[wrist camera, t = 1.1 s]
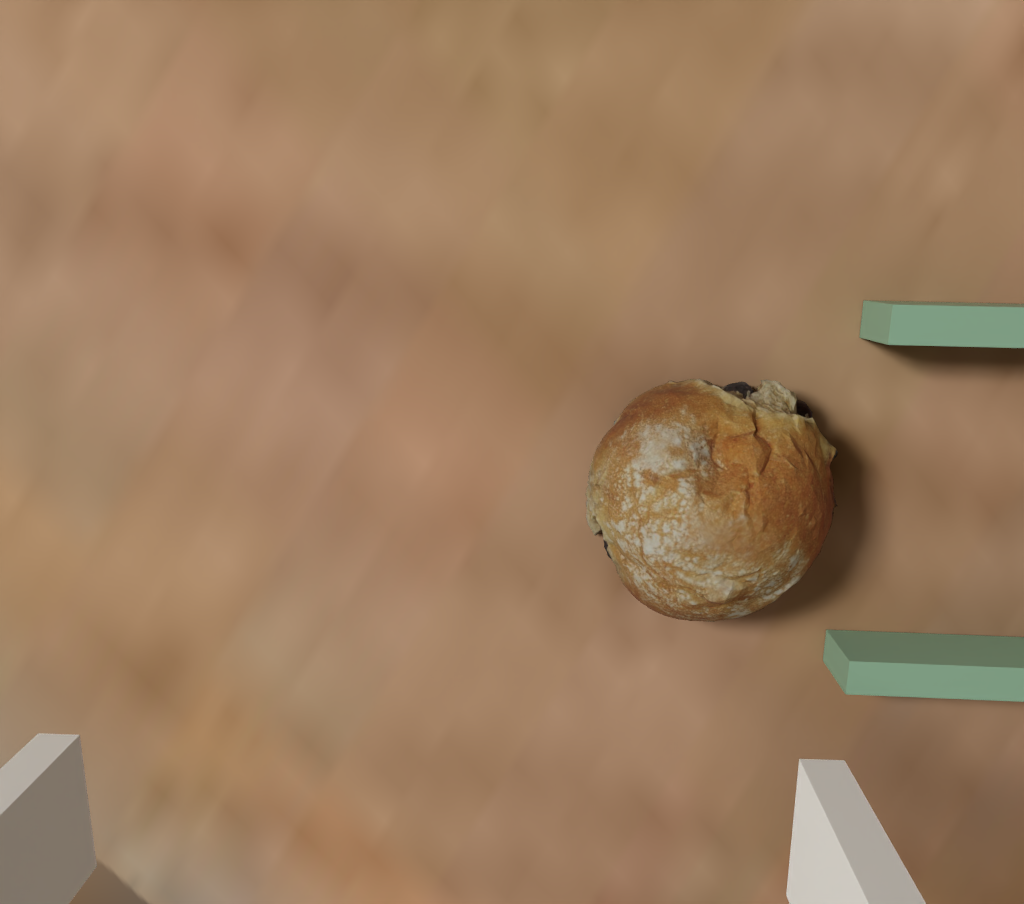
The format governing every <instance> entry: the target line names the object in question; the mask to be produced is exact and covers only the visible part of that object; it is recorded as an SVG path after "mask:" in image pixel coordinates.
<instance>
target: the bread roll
mask: <svg viewBox="0 0 1024 904" xmlns="http://www.w3.org/2000/svg"><path fill="white" fill-rule="evenodd" d="M761 382H762V384H761V385H760V386H759V387H758V388H757V389H758V391H757V392H754V391H753V389H752V388H751V387H750V386H749V385H748V384H747V383H745V382H738V383H732V384H729V385H727V386H724V387H717V386H715V385H713V384H712V383H710V382H709V381H705V380H701V379H690V380H686V381H680V382H674V381H669V382H668V383H666V384H663V385H660V386H658V387H655V388H653V389H651V390H649V391H647V392H645V393H642V394H641V395H640V396H638V397H637V398H635V399H633V400H632V401H631V402H630V403H629V405H628V406H627V407H626V408H625V409H624V411H623V412H622V413H621V415H620V416H619V418H618V419H617V420H616V421H614V426H613V427H612V428H611V429H610V430H609V431H608V433H607V434H606V435H605V436H604V438H603V439H602V441H601V442H600V444H599V446H598V447H597V450H596V452H595V455H594V457H593V461H592V463H591V466H590V471H589V480H588V487H587V491H586V496H587V502H586V507H587V515H586V518H587V522H588V525H589V527H590V528H591V530H592V532H593V533H594V535H597V534H599V533H601V532H602V533H603V540H604V547H605V549H606V551H607V554H608V556H609V557H610V558H611V559H612V561H613V563H614V564H615V565H616V570H617V573H618V575H619V577H620V578H621V580H622V582H623V584H624V586H625V587H626V588H627V589H628V590H629V592H630V593H631V594H632V595H633V596H634V597H635V598H636V599H637V600H639V601H640V602H641V603H643V604H644V605H646V606H647V607H648V608H650V609H652V610H654V611H656V612H658V613H660V614H663V615H665V616H668V617H672V618H676V619H682V620H689V621H713V622H714V621H718V620H724V619H732V618H738V617H742V616H746V615H748V614H750V613H753V612H755V611H758V610H760V609H763V608H764V607H765V606H766V605H768V604H770V603H772V602H775V601H776V600H777V599H778V598H779V597H780V596H781V595H782V594H783V593H784V592H785V591H786V590H788V589H789V588H790V587H792V586H793V585H794V584H796V583H797V582H798V581H799V580H800V579H801V578H802V577H803V575H804V574H805V572H806V571H807V570H808V569H809V568H810V567H811V565H812V563H813V561H814V559H815V558H816V557H817V555H818V554H819V553H820V552H821V548H822V544H823V542H824V540H825V538H826V536H827V533H828V531H829V529H830V526H831V522H832V517H833V509H834V507H836V506H837V504H836V500H835V496H834V492H833V489H834V487H833V484H834V481H833V477H832V473H831V470H830V464H831V461H832V460H833V459H834V458H835V457H836V456H837V453H838V452H837V450H836V448H834V447H833V446H832V445H831V444H830V443H829V442H828V441H827V440H826V439H825V438H824V436H823V435H822V434H821V433H820V431H819V429H818V427H817V425H816V423H815V421H814V419H813V418H812V412H811V410H810V409H809V407H808V406H807V405H806V403H805V402H803V401H800V400H797V397H796V396H795V394H794V393H793V392H791V391H789V390H787V389H786V388H785V387H784V386H782V385H781V384H780V382H778V381H769V380H761ZM760 417H761V418H760ZM756 418H758V419H756Z"/></svg>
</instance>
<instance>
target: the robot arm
mask: <svg viewBox="0 0 1024 904" xmlns="http://www.w3.org/2000/svg"><path fill="white" fill-rule="evenodd" d="M96 867H97V864H96V856H95V849H94V841H93V833H92V826H91V818H90V810H89V803H88V795H87V787H86V780H85V772H84V764H83V756H82V749H81V741H80V735H67V734H37V735H36V736H35V737H34V738H33V739H32V740H31V741H30V742H29V743H28V744H26V745H25V746H24V747H23V748H22V749H21V750H20V751H19V752H18V753H17V754H16V755H15V756H14V757H13V758H11V759H10V760H9V761H8V762H7V763H6V764H5V765H4V766H3V767H2V768H1V769H0V904H69V903H70V902H71V900H72V899H73V898H74V896H75V895H76V894H77V892H78V891H79V890H80V888H81V887H82V886H83V884H84V883H85V881H86V880H87V879H88V877H89V876H90V875H91V873H92V872H93V871H94V870H95V868H96ZM786 895H787V898H788V901H789V903H790V904H926V903H925V901H924V899H923V898H922V896H921V894H920V892H919V890H918V889H917V887H916V885H915V883H914V882H913V880H912V878H911V876H910V875H909V873H908V871H907V869H906V868H905V866H904V864H903V862H902V861H901V859H900V857H899V855H898V854H897V852H896V850H895V848H894V847H893V845H892V843H891V841H890V839H889V838H888V836H887V834H886V832H885V831H884V829H883V827H882V825H881V824H880V822H879V820H878V818H877V817H876V815H875V813H874V811H873V810H872V808H871V806H870V804H869V803H868V801H867V799H866V797H865V795H864V794H863V792H862V790H861V788H860V787H859V785H858V783H857V781H856V780H855V778H854V776H853V774H852V773H851V771H850V769H849V767H848V766H847V764H846V762H845V760H819V759H799V767H798V777H797V788H796V799H795V809H794V820H793V830H792V841H791V851H790V862H789V872H788V883H787V893H786Z"/></svg>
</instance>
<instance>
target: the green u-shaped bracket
mask: <svg viewBox="0 0 1024 904" xmlns="http://www.w3.org/2000/svg"><path fill="white" fill-rule="evenodd" d="M860 338H863V339H867V340H871V341H875V342H879V343H883V344H887V345H915V346H957V347H999V348H1024V304H1002V303H956V302H909V301H864V302H863V311H862V320H861V328H860ZM823 661H824V663H825V664H826V666H827V667H828V669H829V670H830V672H831V673H832V675H833V676H834V678H835V679H836V681H837V682H838V684H839V685H840V687H841V688H842V690H843V691H844V693H845V694H851V695H875V696H899V697H923V698H947V699H972V700H996V701H1020V702H1024V637H1004V636H978V635H952V634H926V633H899V632H873V631H847V630H826V638H825V647H824V655H823Z"/></svg>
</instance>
